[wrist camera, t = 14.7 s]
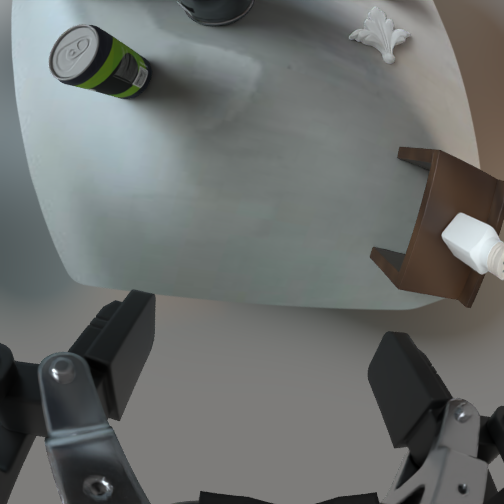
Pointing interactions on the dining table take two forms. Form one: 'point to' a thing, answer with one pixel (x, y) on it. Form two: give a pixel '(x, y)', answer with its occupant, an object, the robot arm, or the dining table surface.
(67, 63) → the beverage can
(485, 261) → the salt shaker
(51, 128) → the dining table surface
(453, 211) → the wooden table
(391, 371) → the robot arm
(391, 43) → the acanthus leaf ornament
